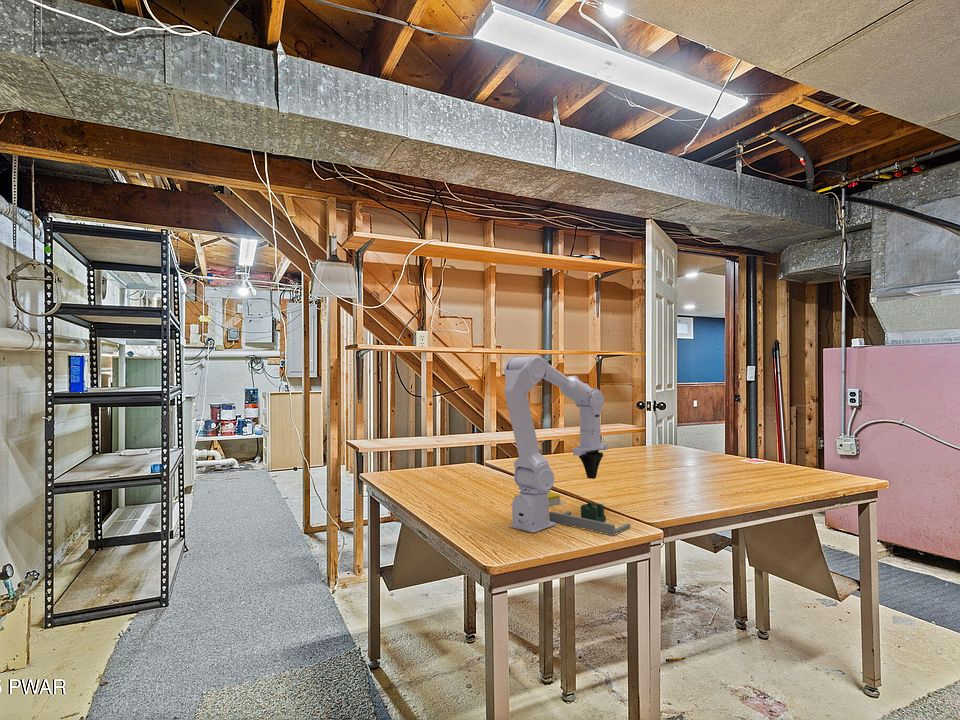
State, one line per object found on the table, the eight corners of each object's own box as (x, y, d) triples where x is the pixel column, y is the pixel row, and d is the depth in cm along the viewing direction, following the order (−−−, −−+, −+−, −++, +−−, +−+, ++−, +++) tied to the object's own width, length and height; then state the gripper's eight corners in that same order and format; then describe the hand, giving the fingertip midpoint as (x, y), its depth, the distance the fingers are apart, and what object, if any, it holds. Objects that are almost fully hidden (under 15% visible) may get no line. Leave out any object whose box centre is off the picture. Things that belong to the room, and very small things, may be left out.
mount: (589, 530, 129) (588, 510, 129) (574, 526, 132) (573, 507, 132) (610, 520, 137) (610, 501, 137) (596, 517, 140) (595, 499, 140)
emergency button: (508, 491, 155) (546, 485, 164) (509, 506, 155) (547, 499, 163) (527, 497, 148) (566, 490, 156) (528, 512, 148) (567, 504, 156)
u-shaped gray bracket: (612, 536, 123) (612, 525, 123) (549, 521, 136) (549, 512, 136) (630, 528, 129) (630, 518, 129) (567, 514, 142) (567, 505, 142)
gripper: (587, 433, 138) (589, 484, 138) (616, 428, 148) (617, 476, 148) (566, 431, 143) (567, 480, 143) (595, 427, 153) (596, 473, 153)
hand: (591, 478), depth 146 cm, fingers closed
